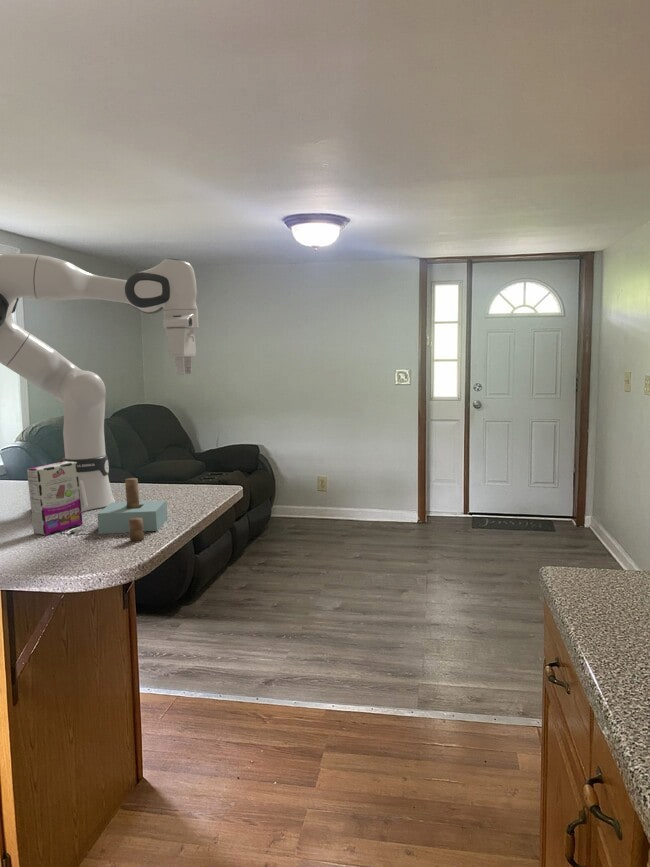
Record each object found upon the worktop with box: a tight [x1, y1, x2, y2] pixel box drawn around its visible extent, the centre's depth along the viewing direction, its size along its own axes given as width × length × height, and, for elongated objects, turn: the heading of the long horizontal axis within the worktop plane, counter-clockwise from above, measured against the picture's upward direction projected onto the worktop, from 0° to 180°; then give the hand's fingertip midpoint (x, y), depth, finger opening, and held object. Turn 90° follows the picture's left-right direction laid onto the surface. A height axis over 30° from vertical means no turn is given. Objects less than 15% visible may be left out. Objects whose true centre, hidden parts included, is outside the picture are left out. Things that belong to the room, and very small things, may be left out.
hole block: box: [96, 499, 169, 535], centre depth 164 cm, size 14×12×5 cm
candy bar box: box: [26, 461, 84, 536], centre depth 163 cm, size 11×5×16 cm, turn 148°
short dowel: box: [129, 517, 145, 543], centre depth 151 cm, size 3×3×5 cm
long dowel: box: [124, 477, 140, 509], centre depth 163 cm, size 3×3×12 cm
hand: (184, 374), depth 175 cm, fingers open, 8 cm apart
